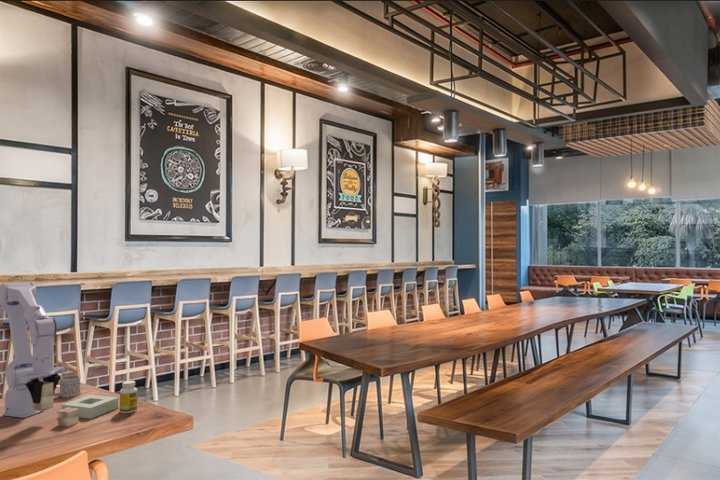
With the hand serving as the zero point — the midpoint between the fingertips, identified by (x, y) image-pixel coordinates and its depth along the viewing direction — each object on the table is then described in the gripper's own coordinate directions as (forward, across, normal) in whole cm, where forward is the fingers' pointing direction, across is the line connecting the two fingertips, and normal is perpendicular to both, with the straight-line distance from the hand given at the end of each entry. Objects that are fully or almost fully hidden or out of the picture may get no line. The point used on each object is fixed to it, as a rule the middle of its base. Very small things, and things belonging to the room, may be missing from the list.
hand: (42, 400), depth 167 cm
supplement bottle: (+7, +18, -17) cm, 26 cm away
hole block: (+7, +14, -5) cm, 16 cm away
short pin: (+7, +2, -8) cm, 11 cm away
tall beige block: (+2, 0, 0) cm, 2 cm away
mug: (+7, +26, +18) cm, 32 cm away
